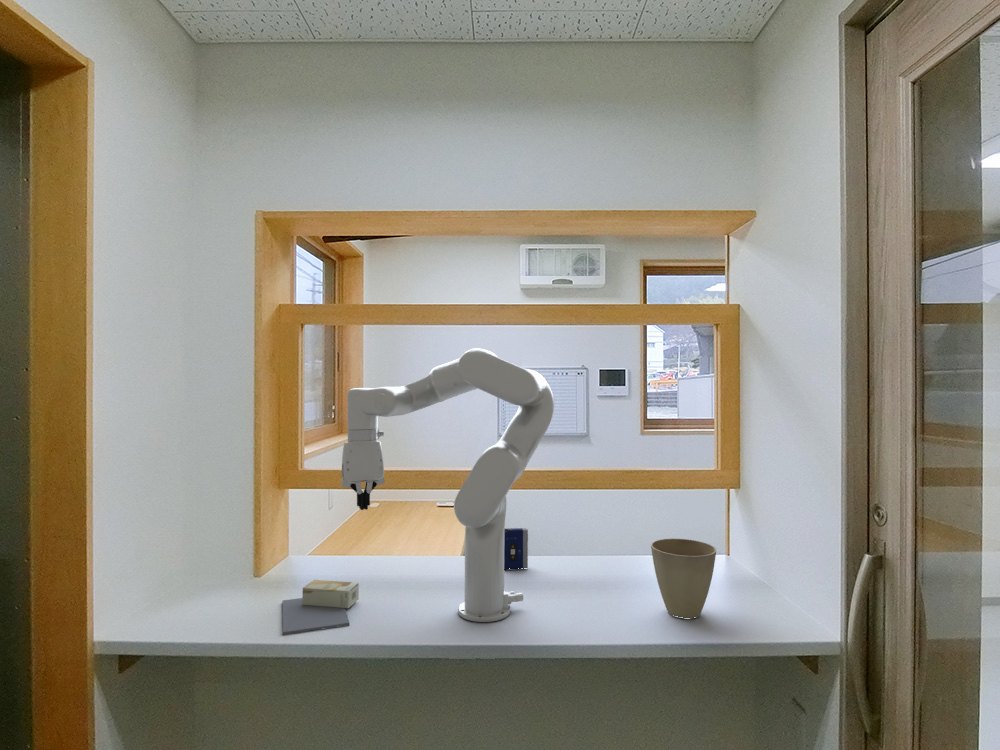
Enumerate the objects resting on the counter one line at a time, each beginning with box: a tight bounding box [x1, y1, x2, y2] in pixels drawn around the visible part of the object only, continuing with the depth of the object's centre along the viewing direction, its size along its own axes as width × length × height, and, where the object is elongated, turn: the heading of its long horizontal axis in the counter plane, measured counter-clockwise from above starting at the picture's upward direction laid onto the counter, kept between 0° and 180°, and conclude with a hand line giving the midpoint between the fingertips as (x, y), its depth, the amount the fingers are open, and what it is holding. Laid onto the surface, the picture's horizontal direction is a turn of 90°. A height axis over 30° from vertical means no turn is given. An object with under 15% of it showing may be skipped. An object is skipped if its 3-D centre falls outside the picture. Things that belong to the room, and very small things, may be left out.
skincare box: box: [301, 579, 360, 609], centre depth 140 cm, size 6×4×12 cm
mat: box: [282, 597, 350, 636], centre depth 135 cm, size 14×20×1 cm
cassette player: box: [504, 527, 529, 569], centre depth 169 cm, size 7×2×12 cm, turn 95°
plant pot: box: [650, 537, 717, 618], centre depth 135 cm, size 15×15×16 cm
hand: (363, 508), depth 143 cm, fingers closed
